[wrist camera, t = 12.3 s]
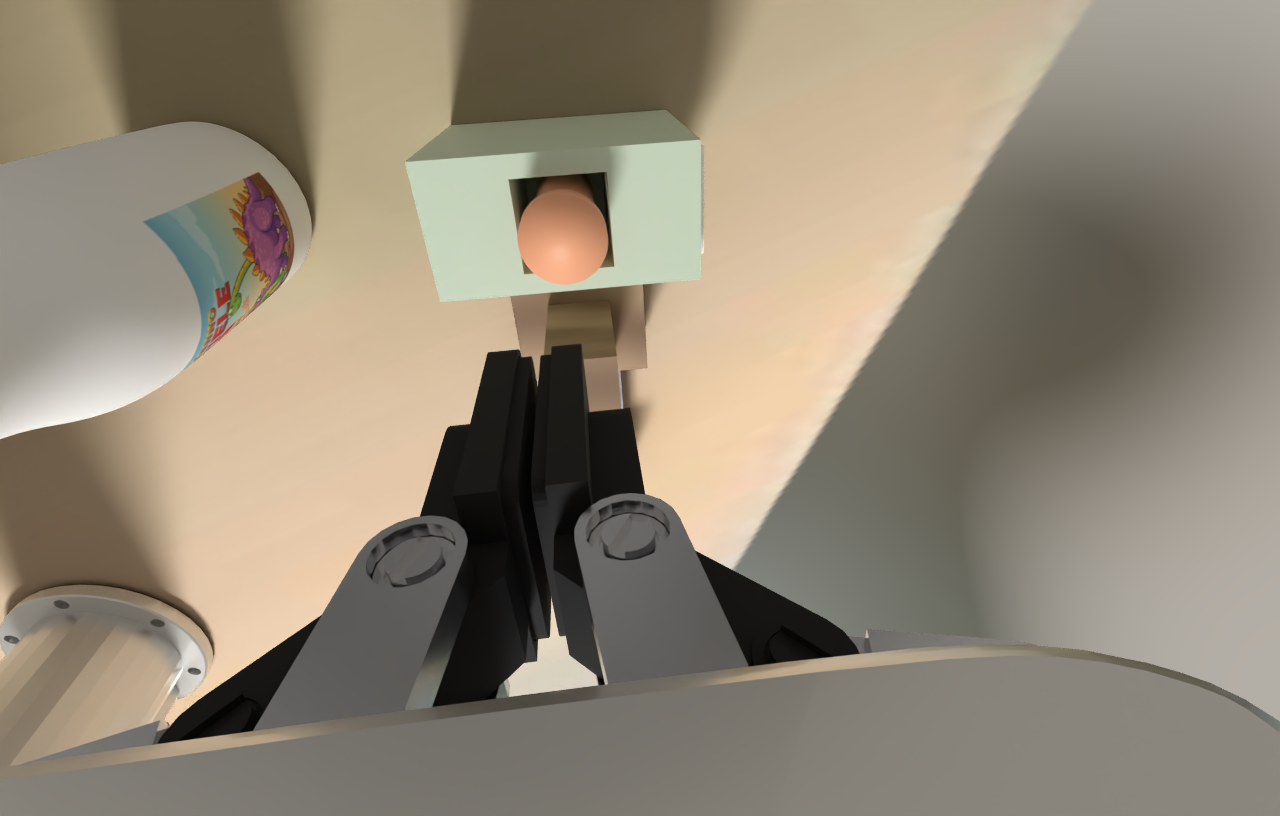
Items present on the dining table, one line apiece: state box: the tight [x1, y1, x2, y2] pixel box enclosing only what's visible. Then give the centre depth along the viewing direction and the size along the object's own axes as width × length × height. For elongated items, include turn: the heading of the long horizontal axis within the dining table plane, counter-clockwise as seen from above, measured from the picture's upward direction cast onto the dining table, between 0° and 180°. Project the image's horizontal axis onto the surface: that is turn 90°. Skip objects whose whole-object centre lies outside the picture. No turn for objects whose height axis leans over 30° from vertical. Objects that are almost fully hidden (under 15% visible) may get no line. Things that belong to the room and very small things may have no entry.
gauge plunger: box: [517, 174, 608, 285], centre depth 23 cm, size 3×3×7 cm
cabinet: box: [405, 110, 704, 302], centre depth 25 cm, size 5×10×9 cm, turn 93°
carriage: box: [511, 284, 647, 412], centre depth 29 cm, size 5×6×9 cm
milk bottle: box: [0, 121, 312, 439], centre depth 20 cm, size 8×8×20 cm
